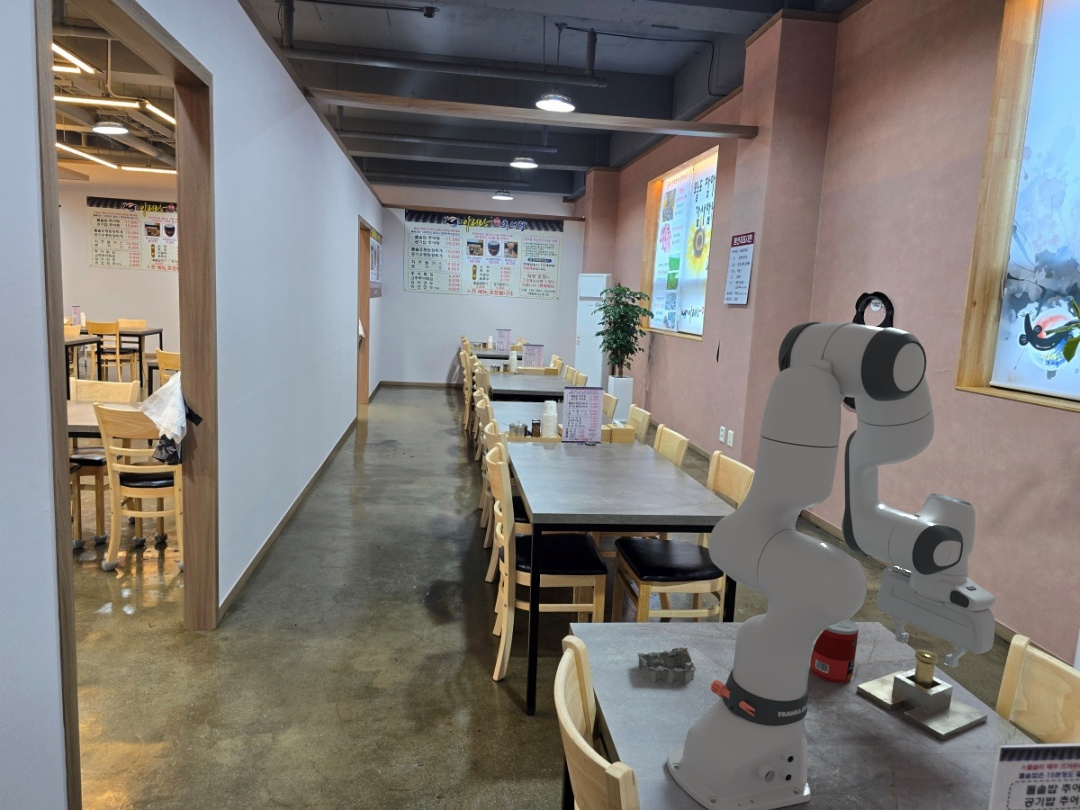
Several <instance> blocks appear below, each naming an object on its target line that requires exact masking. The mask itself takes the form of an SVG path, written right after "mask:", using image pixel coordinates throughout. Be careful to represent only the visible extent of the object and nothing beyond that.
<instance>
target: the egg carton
mask: <svg viewBox="0 0 1080 810" xmlns="http://www.w3.org/2000/svg"><path fill="white" fill-rule="evenodd" d="M637 657H638V665H637V666H638V670H639V671H641V678H642V679H643V680H646V681H649V683H656V681H657V680H663V681H665V682H666V683H674V680H680V681H682V682H683V683H686V684H687V683H688V684H689V683H691V682H690V681H692V680H694V679H695V672H697V669H696V666H695V665H694V662H692V659H691V655H690V653H689V650H688V648H687V647H684V648H683V647H676V648H672V649H671V651H669V650H663V651H661V652H658V651H657V652H656V651H653V652H648V653H640V652H638V653H637ZM676 665H679V666H681V667H683V668H680V667H679V668H677V667H676ZM668 667H669V668H668ZM670 668H673V669H670Z"/></svg>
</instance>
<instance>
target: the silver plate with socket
mask: <svg viewBox="0 0 1080 810" xmlns="http://www.w3.org/2000/svg"><path fill="white" fill-rule="evenodd" d="M914 675H915V668H912V669H909V670H907V671H905V670H902V669H901V670H898V671H896V672H893V673H890V674H886V675H885V676H881V677H878V678H875V679H873V680H870V681H869V680H868V681H866V682H863V683H861V684H858V685H857V687H856V692H857V693H859V694H861V695H862V696H864V697H866V698H867V699H869V700H871V701H873V702H874V703H876V704H878V705H879V706H881V707H882V708H884V709H886V710H888V711H890V712H892V711H894V710H896V709H899V708H901V707H902V708H904V709H906V710H907V711H905V712H904V713H903V719H904V720H905V721H907V722H909V723H910V724H911V725H913V726H915V727H917V728H919V729H920V730H922V731H924V732H926V733H927V734H929V735H931V736H932V737H934V738H936V739H937V740H939V741H941V742H942V741H944V740H947V739H950V738H951V737H954V736H955V735H958V734H960V733H963V732H965V731H967V730H969V729H971V728H973V727H976V726H978V725H981V724H983V723H985V722H987V721H988V713H985V712H983V711H981V710H979V709H977V708H975V707H973V706H972V705H970V704H968V703H967V702H964V701H962V700H960V699H959V698H956V697H954V696H953V689H954V685H951V684H949V683H947V682H945V681H944V680H941V679H939V678H938V677H935V675H933V682H932V688H931V689H926V688H924V687H922V686H920V685H918V684H916V683H914Z"/></svg>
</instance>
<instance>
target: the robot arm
mask: <svg viewBox="0 0 1080 810" xmlns="http://www.w3.org/2000/svg"><path fill="white" fill-rule="evenodd" d="M777 356H778V359H777V360H778V363H777V364H778V371H779V372H778V374H777V375H776V376H775V377H774V379H773V382H772V384H771V387H770V391H769V393H768V397H767V400H766V402H765V403H766V404H765V408H764V412H763V417H762V421H761V428H760V436H759V442H758V448H757V449H758V450H757V455H756V456H757V457H756V460H755V461H756V463H755V468H754V474H753V477H752V481H751V484H750V488H749V489H748V491H747V494H746V496H745V498H744V500H743V501H742V503H741V504H740V505H739V506H738V507H737V509H736V510H734V511H733V512H732V513H730V514H726V516H724V517H723V518H721V519H720V520H719V521H718V522H717V523H716V524H715V525H714V527H713V529H712V531H711V533H710V536H709V540H708V552H709V557H710V560H711V562H712V563H713V564H714V565H715V566H716V567H717V568H718V569H719V570H721V572H723V573H724V574H725V575H727V577H729V578H731V579H732V580H733V581H734V582H736V583H739V584H741V585H743V586H745V587H747V588H750V589H751V590H753V591H755V592H757V593H759V594H761V595H764V596H765V597H766V598H767V601H768V602H767V603H768V604H767V605H768V606H767V609H766V610H767V611H766V613H763V614H758V615H757V614H756V615H754V616H751V617H749V618H747V619H746V620H745V621H744V622H743V623H742V624H741V625H740V627H739V628H738V630H737V632H736V639H735V648H734V657H733V666H732V667H733V668H732V669H731V671H730V673H729V675H728V677H727V680H726V682H725V684H723V682H721V680H718V679H715V680H713V682H712V683H711V686H710V691H711V692H712V693H714V694H715V695H717V696H718V697H719V699H718V700H717V701H716V702H715V703H714V704H713V705H712V706H711V707H710V708H709V709H708V710H707V711H706V712H705V713H704V714H703V715H702V716H701V717H700V718H699V719H698V720H697V721H696V722H695V723H694V724H693V725H692V726H691V727H690V728H689V729H688V732H687V734H686V737H685V739H684V745H682V746H681V747H679V748H678V749H676V750H674V751H673V752H671V753H669V754H668V756H667V758H666V766H667V769H668V771H669V773H670V775H671V776H672V778H673V779H674V780H675V782H677V784H678V785H679V786H680V787H681V788H682V790H683V791H684V792H686V793H687V794H688V795H689V796H691V798H693V799H694V801H696V802H698V803H699V804H700V805H701V806H703V807H705V808H706V809H708V810H774V809H778V808H783V807H784V808H785V807H786V806H787V807H789V806H792V805H793V806H794V805H798V804H803V803H806V802H807V803H808V802H809V801H810V800H811V796H812V795H811V794H812V793H811V788H810V786H809V784H808V739H807V734H806V728H805V727H806V726H805V717H806V716H807V713H808V707H809V704H810V699H809V695H810V694H809V693H810V692H809V691H810V690H809V687H808V679H809V671H810V668H811V666H810V662H811V657H812V652H813V648H814V645H815V643H816V641H817V639H818V637H819V636H820V635H821V633H822V632H823V631H824V630H825V629H827V628H828V627H829V626H831V625H834V624H836V623H840V622H843V621H845V620H847V619H850V618H852V617H853V616H855V614H857V612H859V611H860V609H861V608H862V606H863V605H864V602H865V600H866V597H867V593H868V580H867V579H868V578H867V574H866V570H865V568H864V566H863V564H862V563H861V562H860V561H859V559H858V560H857V559H856V558H855V557H853V556H852V555H850V554H849V553H847V552H845V551H844V550H842V549H841V548H839V547H837V546H836V545H834V544H832V543H830V542H827V541H824V540H821V539H819V538H816V537H814V536H810V535H807V534H805V533H803V532H799V531H798V530H797V529H796V527H797V525H796V524H797V521H798V518H799V515H800V514H801V512H802V510H807V509H811V508H814V507H816V506H819V505H820V504H822V503H824V502H825V501H826V500H827V499H828V498H829V496H830V495H831V493H832V491H833V487H834V481H835V480H834V479H835V474H836V473H835V472H836V467H837V461H838V452H839V447H840V446H839V445H840V436H841V425H842V423H841V422H842V403H843V401H844V400H845V398H846V397H847V398H854V406H855V414H856V420H857V422H856V423H857V425H856V429H855V430H853V431H852V432H851V433H850V434H849V436H848V437H847V440H846V442H845V443H846V444H845V448H844V511H843V516H842V521H841V533H842V537H843V539H844V541H845V543H846V545H847V547H848V548H849V549H850V550H851V551H852V552H854V553H857V554H862V555H864V556H868V557H871V558H875V559H877V560H880V561H882V562H885V563H888V564H890V565H888V566H886V567H884V569H883V570H882V575H881V583H880V586H879V589H878V593H877V596H876V599H875V605H876V607H877V609H878V610H879V611H881V612H883V613H884V614H887V615H890V616H892V619H891V622H892V625H893V627H894V630H895V632H896V633H895V639H894V640H895V641H896V642H898V643H901V644H907V643H908V641H909V637H910V633H908V632H906V630H905V626H904V623H907V624H909V625H912V626H913V627H916V628H919V629H921V630H923V631H924V632H927V633H929V634H931V635H934V636H936V637H938V638H940V639H942V640H944V641H946V642H949V643H952V645H953V650H955V652H954V653H949V654H945V657H944V662H943V663H944V664H945V665H947V666H948V667H950V668H952V669H954V668H957V667H958V666H959V660H960V658H961V657H962V656H964V654H966V653H967V652H971V653H973V654H976V655H980V654H984V653H987V652H989V651H990V650H992V648H993V645H994V642H995V641H994V640H995V631H996V619H995V615H994V613H993V611H992V610H991V608H993V607H994V606H995V604H996V598H995V596H994V595H993V594H992V593H990V592H989V591H988V590H986V589H984V588H983V587H981V586H980V585H979V584H978V583H976V582H975V581H973V580H972V579H971V578H970V577H968V576H969V565H968V563H969V562H968V561H969V557H970V555H971V553H972V551H973V548H974V547H973V546H974V542H975V533H976V532H975V531H976V510H975V506H974V505H972V504H971V502H969V501H967V500H964V499H959V498H956V497H952V496H948V495H945V494H941V493H928V495H927V496H926V498H925V501H924V504H923V508H922V509H921V510H919V511H917V512H915V513H909V512H906V511H903V510H900V509H896V508H893V507H890V506H888V505H887V504H886V503H885V502H883V501H882V500H881V499H880V498H879V495H878V493H879V490H878V489H879V486H878V485H879V466H886V465H895V464H899V463H904V462H905V461H908V460H910V459H913V458H914V457H916V456H918V455H920V454H921V453H922V452H924V450H926V448H927V447H928V446H929V445H930V444H931V442H932V440H933V437H934V432H935V417H934V416H935V415H934V411H933V410H934V409H933V404H932V402H933V401H932V397H931V393H930V388H929V385H928V381H927V377H926V370H927V355H926V351H925V349H924V347H923V345H922V343H921V342H920V340H919V339H918V338H917V337H916V336H915V335H914V334H913V333H911V332H909V331H905V330H902V329H898V328H894V327H877V326H873V325H866V324H858V323H856V322H844V321H840V322H820V321H812V322H811V321H810V322H805V323H802V324H801V323H800V324H798V325H796V326H794V327H792V328H791V329H790V330H788V332H787V333H786V335H785V336H784V338H783V340H782V341H781V344H780V346H779V350H778V355H777Z"/></svg>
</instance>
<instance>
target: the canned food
mask: <svg viewBox="0 0 1080 810" xmlns="http://www.w3.org/2000/svg"><path fill="white" fill-rule="evenodd" d="M859 630H860V629H859V625H858V623H856V622H855V621H853V620H852V619H850V618H849V619H847V620H845V621H843V622H840V623H836V624H834V625H831V626H829V627H828V628H827V629H825V630H824V631H823V632H822V633H821V635H820V636H819V637H818V639H817V641H816V643H815V645H814V648H813V652H812V657H811V662H810V669H811V672H812V673H813V674H814V675H815V676H817V677H818V678H820V679H822V680H824V681H828V682H832V683H837V684H841V683H843V684H844V683H848V682H849V681H851V679H852V677H853V675H854V669H855V668H854V667H855V661H856V655H857V654H856V652H857V644H858V638H859Z"/></svg>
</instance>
